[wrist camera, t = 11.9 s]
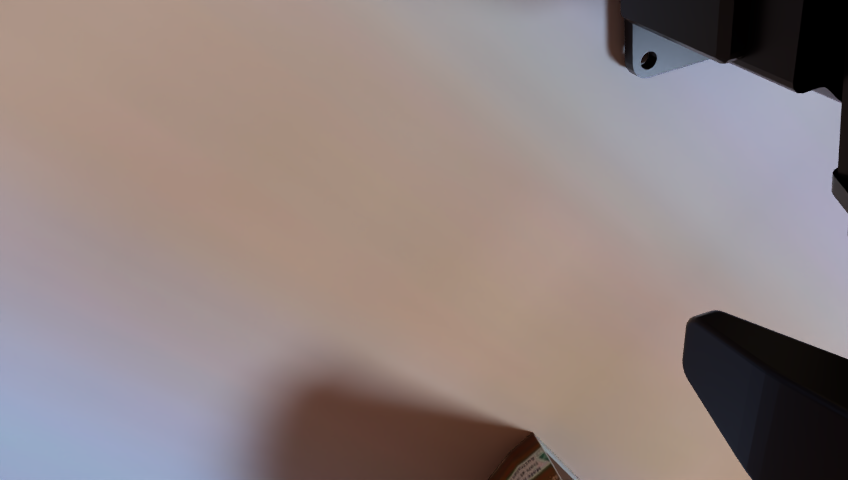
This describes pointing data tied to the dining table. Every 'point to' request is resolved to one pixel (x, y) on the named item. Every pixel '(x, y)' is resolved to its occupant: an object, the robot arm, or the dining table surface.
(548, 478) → the food container
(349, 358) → the dining table surface
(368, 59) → the dining table surface
